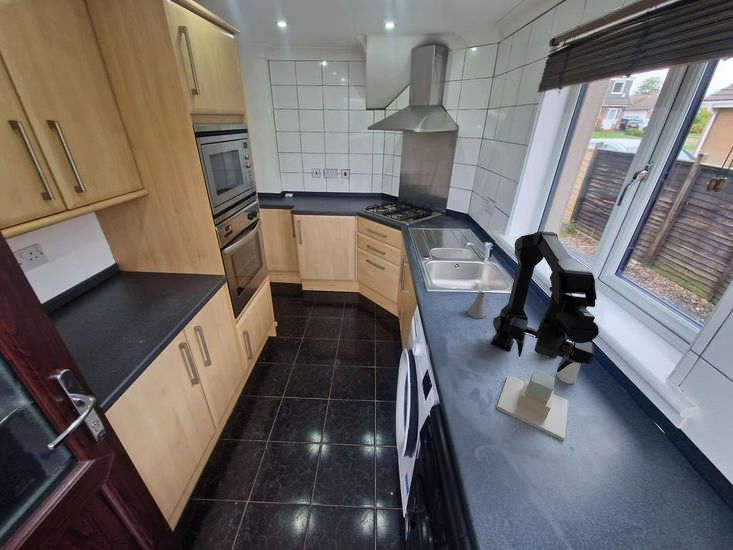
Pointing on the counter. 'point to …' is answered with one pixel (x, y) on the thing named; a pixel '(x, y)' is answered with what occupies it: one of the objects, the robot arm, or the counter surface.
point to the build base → (529, 417)
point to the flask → (478, 306)
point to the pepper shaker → (569, 373)
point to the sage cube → (540, 386)
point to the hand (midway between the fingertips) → (538, 363)
